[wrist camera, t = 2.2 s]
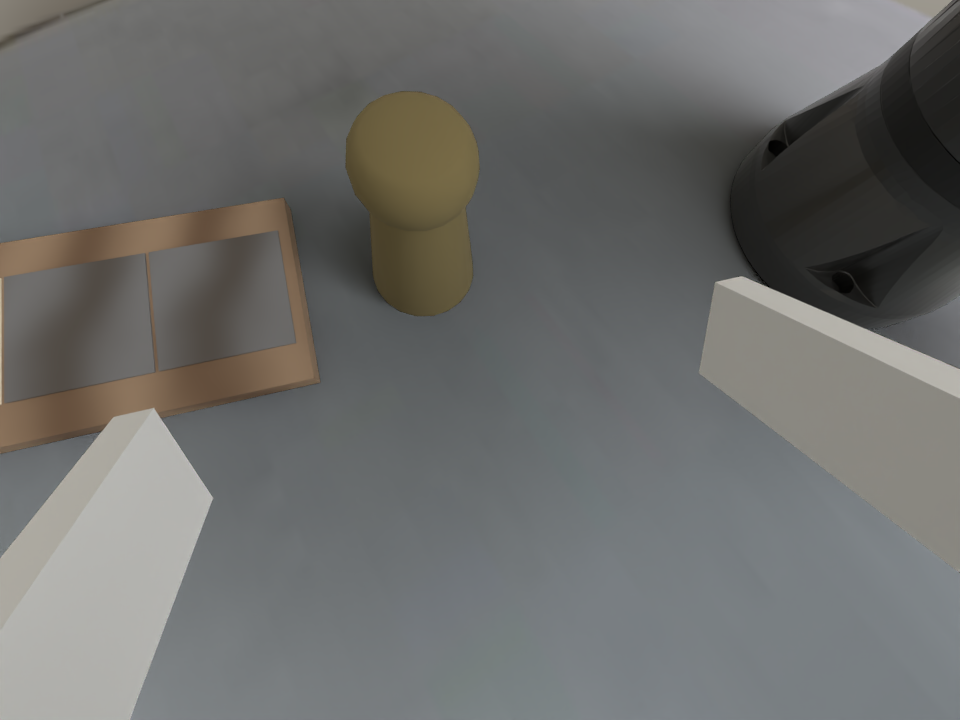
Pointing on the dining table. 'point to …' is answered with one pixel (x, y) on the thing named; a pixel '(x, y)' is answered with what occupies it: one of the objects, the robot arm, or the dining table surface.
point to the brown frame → (150, 320)
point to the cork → (416, 198)
